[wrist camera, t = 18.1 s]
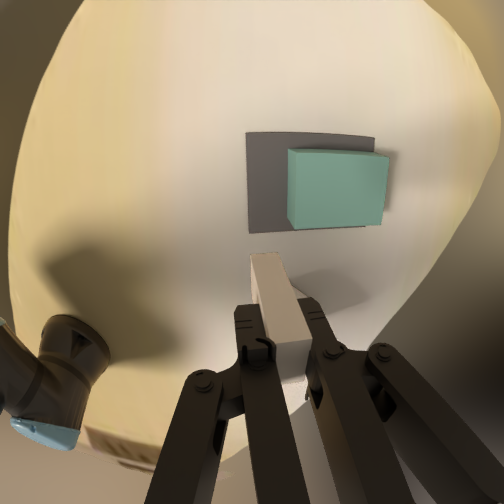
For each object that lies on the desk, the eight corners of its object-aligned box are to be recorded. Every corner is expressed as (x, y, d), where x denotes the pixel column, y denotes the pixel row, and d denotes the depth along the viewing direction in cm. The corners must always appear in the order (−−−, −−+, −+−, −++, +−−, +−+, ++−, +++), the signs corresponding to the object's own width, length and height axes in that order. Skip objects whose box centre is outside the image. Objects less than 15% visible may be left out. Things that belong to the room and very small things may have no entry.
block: (294, 229, 32) (380, 224, 33) (296, 152, 27) (389, 157, 28) (287, 217, 35) (367, 214, 36) (287, 148, 31) (373, 152, 32)
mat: (248, 232, 36) (249, 233, 36) (245, 133, 30) (245, 133, 30) (364, 226, 37) (365, 226, 37) (372, 137, 31) (374, 137, 31)
